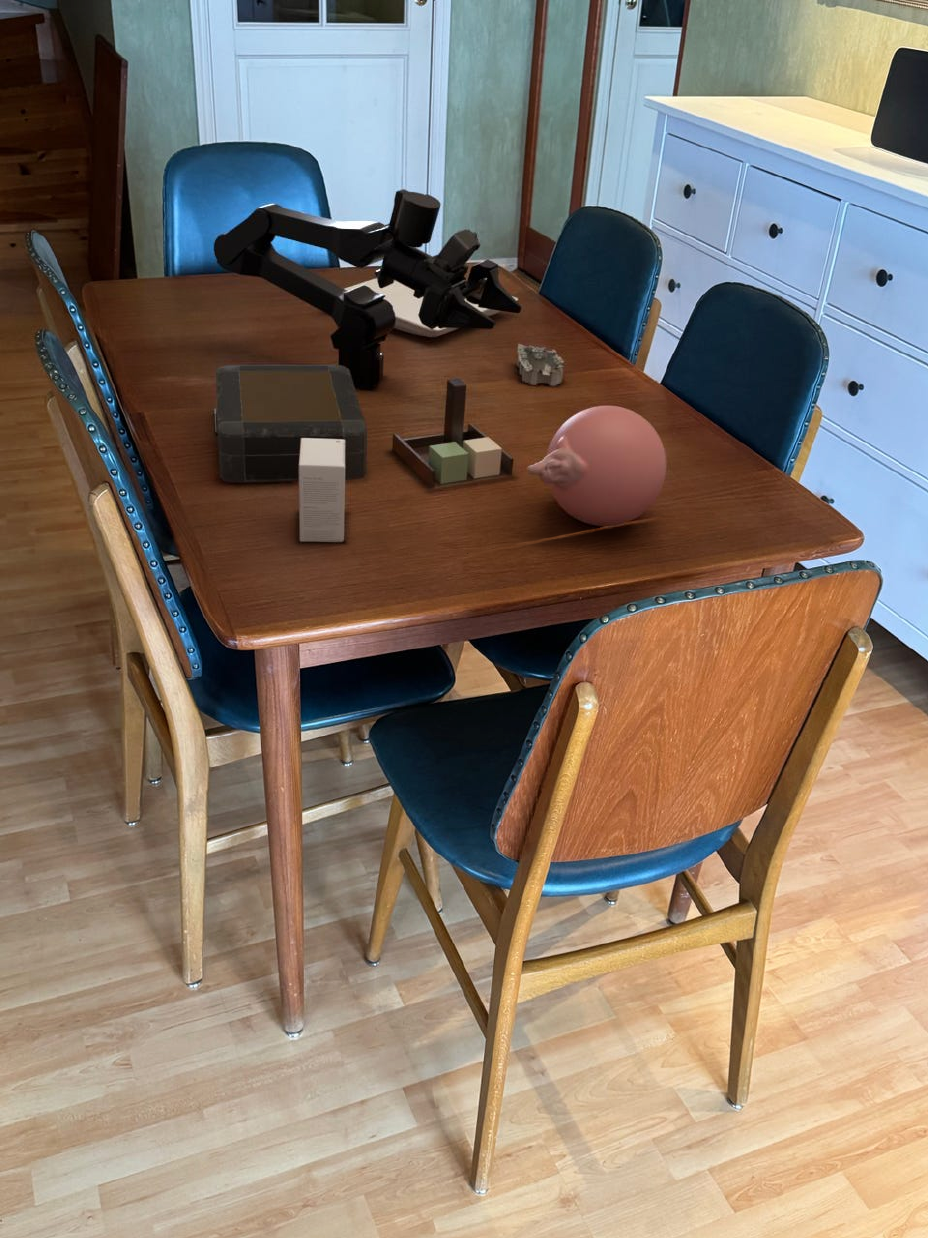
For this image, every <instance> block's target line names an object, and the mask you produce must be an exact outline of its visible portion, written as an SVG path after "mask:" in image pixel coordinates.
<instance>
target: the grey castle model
mask: <svg viewBox="0 0 928 1238" xmlns="http://www.w3.org/2000/svg"><path fill="white" fill-rule="evenodd" d="M516 366H517V368H518V369H519V375H520V376H521V381H522V382H523V383H526V384H529V385H531V386H537V384H547V385H549V386H552V387H553V386H554V387H555V386H557V385H559V384H561V383H562V382H563V377H564V370H563V368H564V367H565V360H564V359H563V358H562V357H561V356H559V355H558V354H557V351H556V350H555V349H554V348H552V349H551V350H547V349H546V347H545V346H543V347H539V346H533V345H528V346H527V345H524V344H521V343H518V345H517V365H516Z"/></svg>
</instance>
